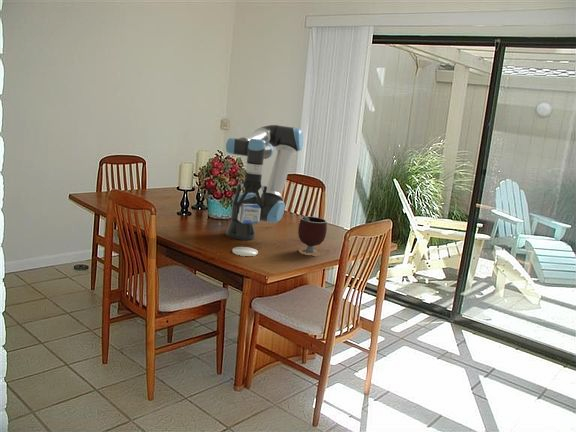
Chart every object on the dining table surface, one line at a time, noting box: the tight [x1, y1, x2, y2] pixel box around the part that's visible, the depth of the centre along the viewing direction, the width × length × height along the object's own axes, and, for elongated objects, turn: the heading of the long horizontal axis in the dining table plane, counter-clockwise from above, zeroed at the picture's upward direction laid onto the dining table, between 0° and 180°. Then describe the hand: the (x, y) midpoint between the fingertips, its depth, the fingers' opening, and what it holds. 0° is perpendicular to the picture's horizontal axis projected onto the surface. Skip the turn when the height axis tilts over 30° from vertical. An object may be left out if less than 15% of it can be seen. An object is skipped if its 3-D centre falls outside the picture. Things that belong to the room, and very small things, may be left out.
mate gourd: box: [297, 214, 328, 253], centre depth 276 cm, size 16×14×20 cm
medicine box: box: [240, 204, 260, 224], centre depth 260 cm, size 8×4×9 cm, turn 117°
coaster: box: [232, 246, 259, 257], centre depth 264 cm, size 12×12×1 cm
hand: (248, 220), depth 261 cm, fingers closed on medicine box, 8 cm apart
